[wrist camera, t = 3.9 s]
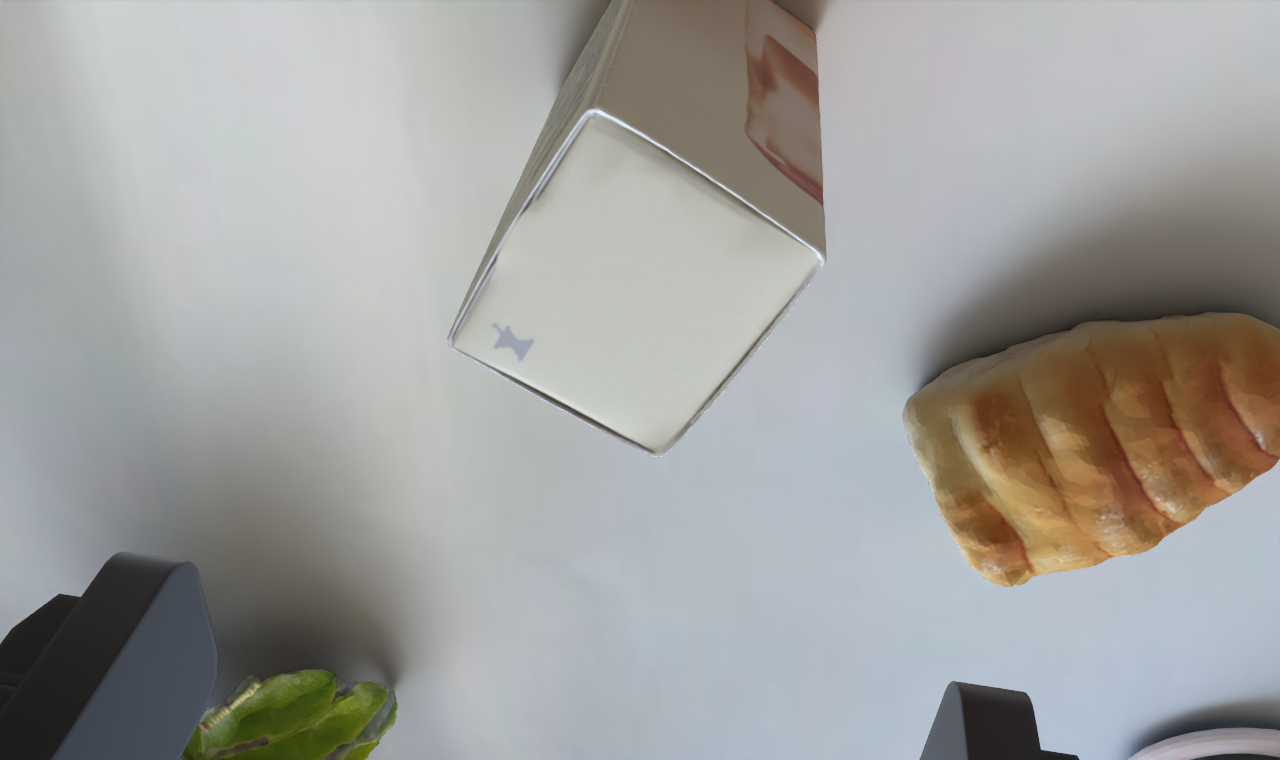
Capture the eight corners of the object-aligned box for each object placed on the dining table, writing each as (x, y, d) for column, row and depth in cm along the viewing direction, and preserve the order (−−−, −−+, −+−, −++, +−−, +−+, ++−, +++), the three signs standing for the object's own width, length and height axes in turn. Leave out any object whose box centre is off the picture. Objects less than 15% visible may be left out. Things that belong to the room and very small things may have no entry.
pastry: (1248, 224, 26) (1306, 316, 23) (1335, 424, 29) (1397, 529, 26) (878, 385, 30) (886, 481, 27) (988, 545, 33) (1006, 648, 30)
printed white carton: (703, 202, 27) (653, 476, 19) (547, 105, 26) (426, 351, 18) (835, 27, 24) (841, 263, 16) (665, -90, 23) (582, 99, 15)
